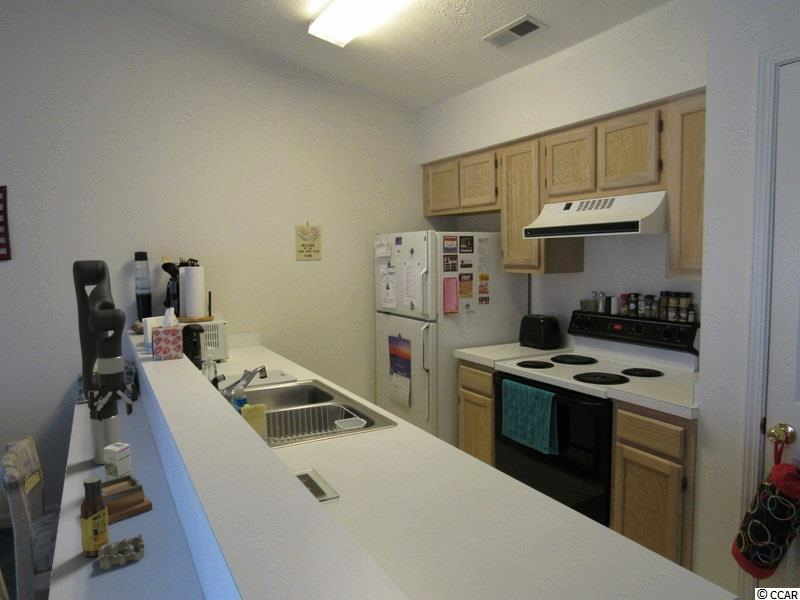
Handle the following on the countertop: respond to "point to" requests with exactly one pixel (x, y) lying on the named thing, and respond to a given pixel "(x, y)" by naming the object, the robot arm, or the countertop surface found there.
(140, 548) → the egg carton
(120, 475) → the syrup box
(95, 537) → the sauce bottle
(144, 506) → the stand
